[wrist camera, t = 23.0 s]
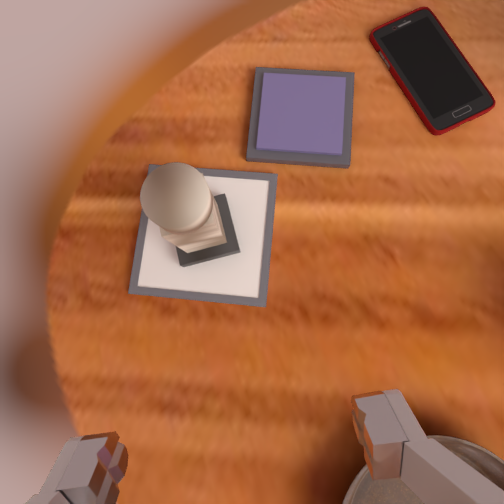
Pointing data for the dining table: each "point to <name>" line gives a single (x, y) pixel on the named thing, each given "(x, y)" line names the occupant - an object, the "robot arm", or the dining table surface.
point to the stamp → (189, 213)
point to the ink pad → (301, 117)
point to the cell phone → (431, 71)
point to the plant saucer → (402, 497)
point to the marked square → (221, 269)
